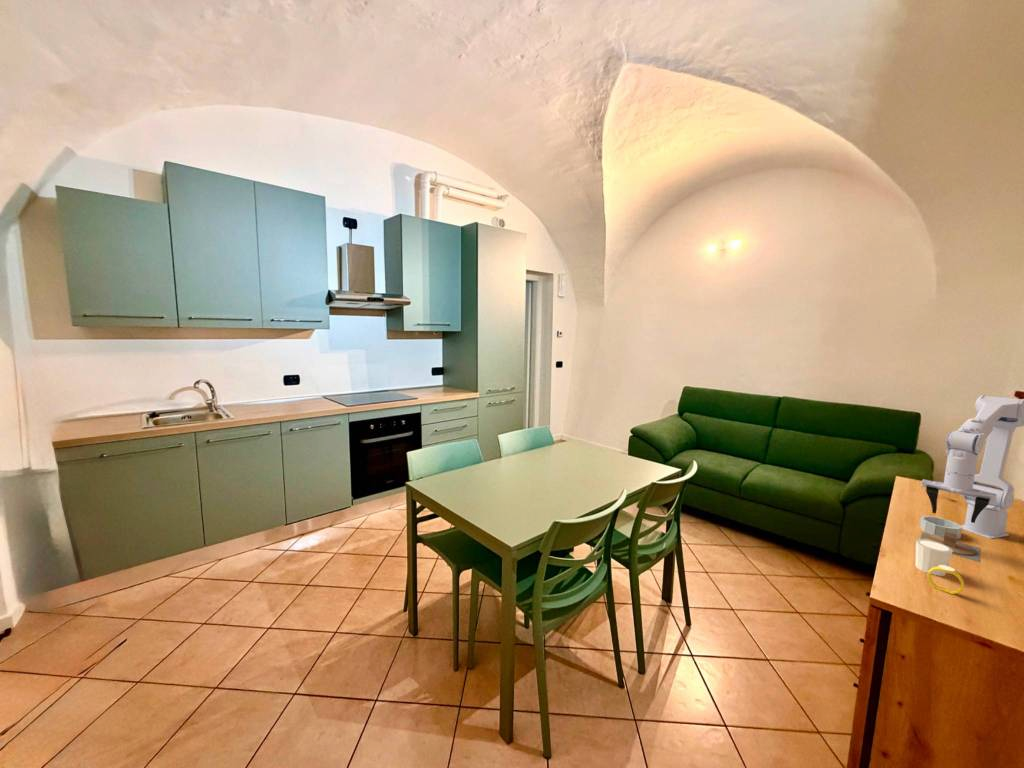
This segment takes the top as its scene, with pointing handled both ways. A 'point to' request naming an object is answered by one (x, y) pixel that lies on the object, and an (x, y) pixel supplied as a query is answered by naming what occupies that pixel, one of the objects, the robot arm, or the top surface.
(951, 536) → the walnut lid
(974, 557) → the rubber mat
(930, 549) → the white cylinder
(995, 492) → the robot arm
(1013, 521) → the top surface
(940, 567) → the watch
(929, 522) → the grey curved piece
